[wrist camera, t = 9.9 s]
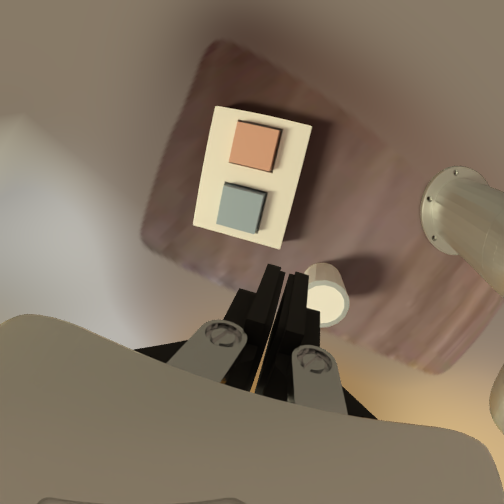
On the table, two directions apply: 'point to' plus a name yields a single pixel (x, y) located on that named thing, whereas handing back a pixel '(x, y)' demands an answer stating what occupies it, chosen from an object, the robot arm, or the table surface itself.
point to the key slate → (240, 208)
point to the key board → (252, 174)
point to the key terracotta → (254, 146)
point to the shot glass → (327, 293)
